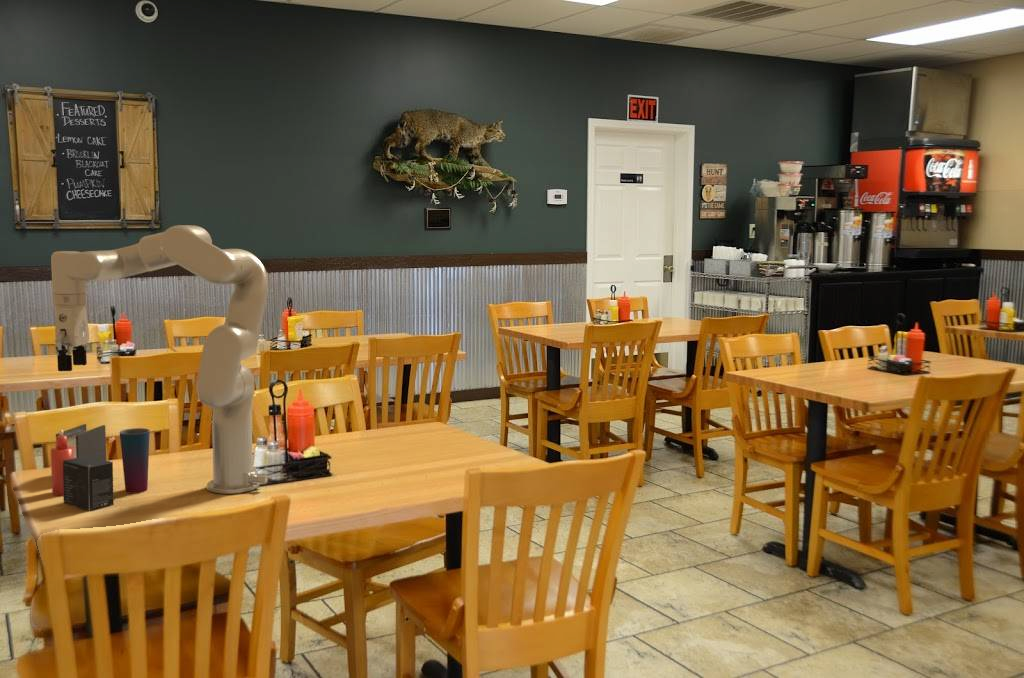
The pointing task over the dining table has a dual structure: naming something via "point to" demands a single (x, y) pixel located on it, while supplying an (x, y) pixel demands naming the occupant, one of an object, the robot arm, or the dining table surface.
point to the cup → (135, 458)
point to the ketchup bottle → (59, 463)
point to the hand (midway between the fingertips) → (72, 367)
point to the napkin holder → (87, 441)
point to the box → (88, 482)
